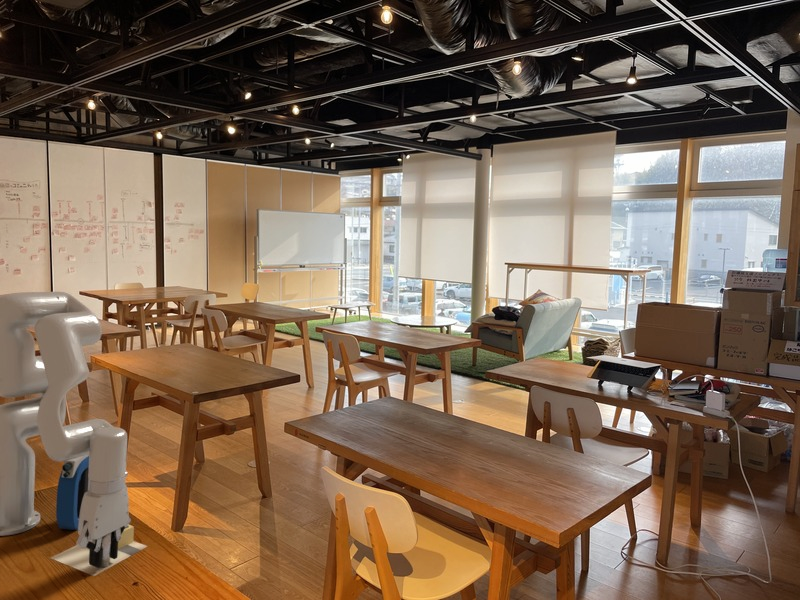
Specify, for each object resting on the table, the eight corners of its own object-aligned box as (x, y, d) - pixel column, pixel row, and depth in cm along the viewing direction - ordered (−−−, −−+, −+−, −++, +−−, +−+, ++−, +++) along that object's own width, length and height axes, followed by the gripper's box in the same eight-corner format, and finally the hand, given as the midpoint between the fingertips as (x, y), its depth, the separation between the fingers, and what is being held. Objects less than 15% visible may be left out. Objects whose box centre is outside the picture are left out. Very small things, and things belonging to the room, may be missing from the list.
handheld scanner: (103, 510, 161) (105, 440, 159) (73, 539, 145) (74, 462, 143) (86, 509, 161) (88, 439, 159) (54, 538, 145) (55, 461, 143)
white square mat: (50, 562, 135) (50, 557, 135) (105, 534, 149) (105, 530, 149) (94, 580, 130) (94, 575, 130) (147, 550, 143) (147, 546, 143)
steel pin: (91, 566, 133) (93, 528, 132) (103, 559, 136) (104, 522, 135) (103, 569, 132) (104, 531, 131) (114, 563, 135) (115, 525, 134)
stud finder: (97, 541, 144) (98, 524, 143) (114, 533, 148) (114, 517, 147) (117, 550, 141) (117, 532, 140) (133, 542, 145) (134, 525, 144)
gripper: (124, 468, 141) (121, 541, 143) (61, 492, 126) (58, 574, 128) (148, 475, 138) (144, 549, 140) (86, 501, 123) (82, 584, 125)
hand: (103, 560), depth 134 cm, fingers open, 3 cm apart
